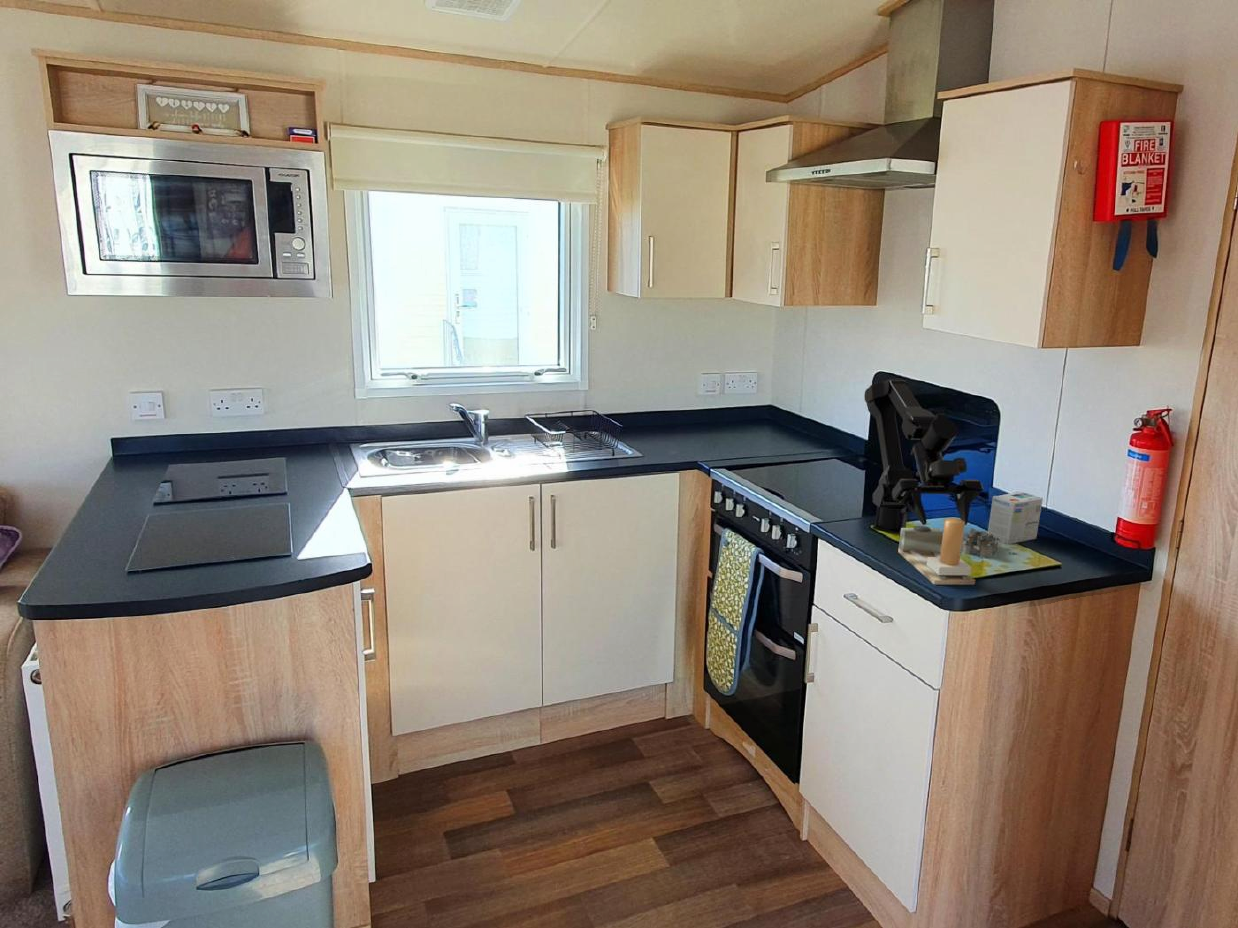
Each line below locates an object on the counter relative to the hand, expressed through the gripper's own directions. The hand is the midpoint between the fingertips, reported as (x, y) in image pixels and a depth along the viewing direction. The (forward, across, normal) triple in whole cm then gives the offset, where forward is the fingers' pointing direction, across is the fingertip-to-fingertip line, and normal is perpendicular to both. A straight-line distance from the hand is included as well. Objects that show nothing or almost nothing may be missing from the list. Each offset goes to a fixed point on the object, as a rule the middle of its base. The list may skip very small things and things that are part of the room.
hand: (945, 524), depth 187 cm
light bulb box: (-8, +29, +24) cm, 38 cm away
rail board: (+6, 0, +9) cm, 11 cm away
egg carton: (-2, +16, +18) cm, 24 cm away
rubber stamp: (+9, 0, +4) cm, 10 cm away
